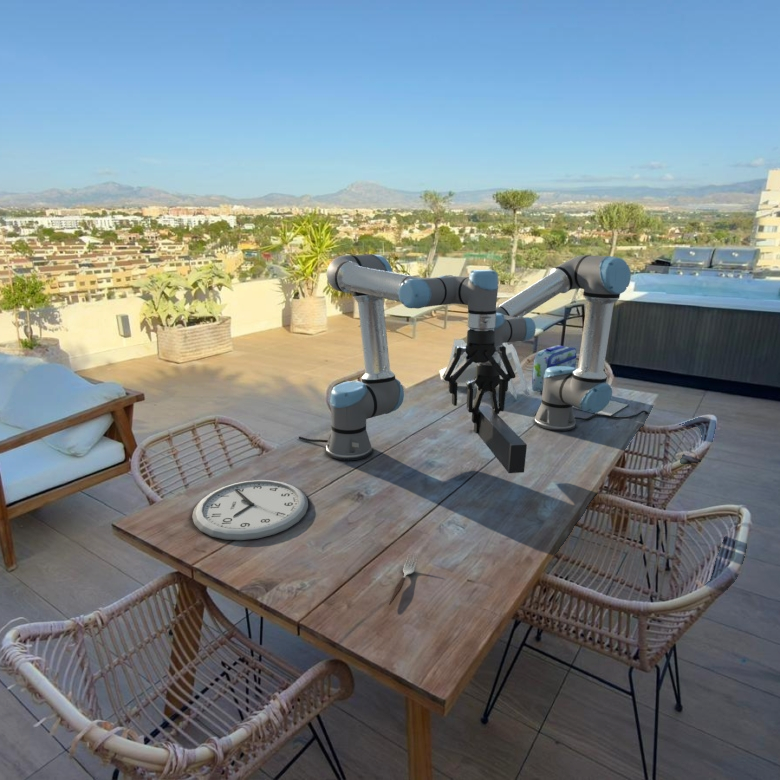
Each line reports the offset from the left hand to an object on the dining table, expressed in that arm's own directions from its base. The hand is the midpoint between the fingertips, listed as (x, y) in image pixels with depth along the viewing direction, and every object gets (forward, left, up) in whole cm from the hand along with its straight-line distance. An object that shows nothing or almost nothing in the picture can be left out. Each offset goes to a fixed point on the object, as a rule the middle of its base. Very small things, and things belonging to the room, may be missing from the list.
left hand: (477, 403), depth 148 cm
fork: (+4, -50, -26) cm, 56 cm away
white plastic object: (-32, +88, -26) cm, 97 cm away
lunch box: (-5, +110, -26) cm, 113 cm away
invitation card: (+20, +98, -26) cm, 103 cm away
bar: (+3, +10, -17) cm, 20 cm away
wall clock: (-45, -45, -26) cm, 68 cm away
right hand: (-5, +20, -16) cm, 27 cm away
